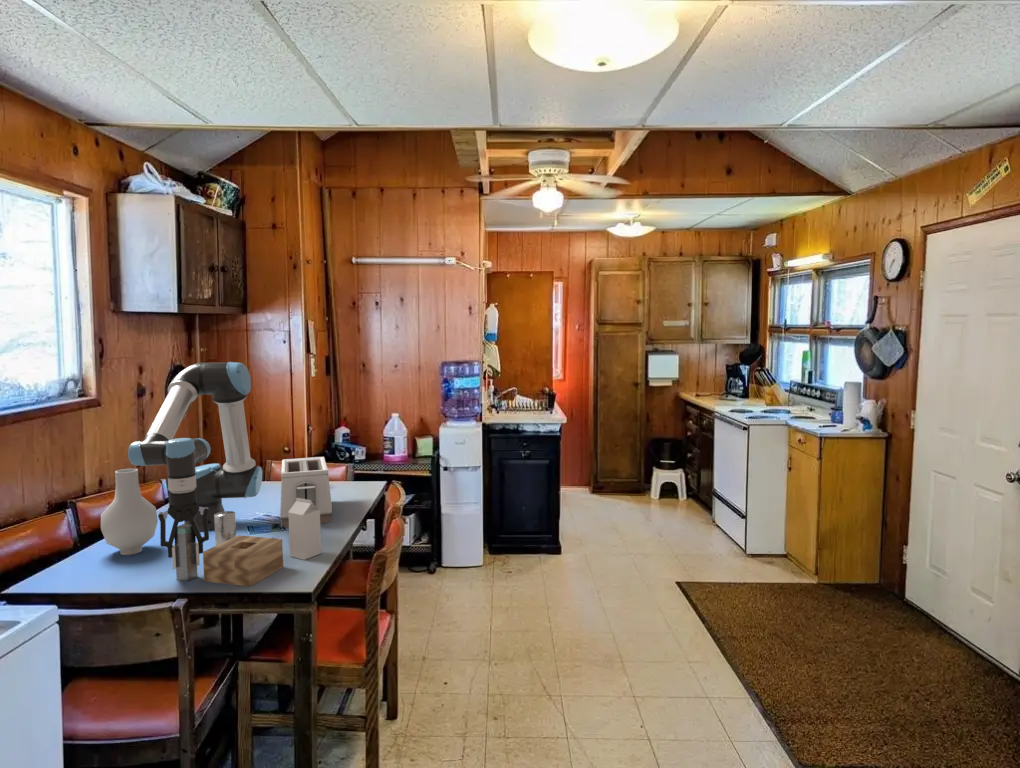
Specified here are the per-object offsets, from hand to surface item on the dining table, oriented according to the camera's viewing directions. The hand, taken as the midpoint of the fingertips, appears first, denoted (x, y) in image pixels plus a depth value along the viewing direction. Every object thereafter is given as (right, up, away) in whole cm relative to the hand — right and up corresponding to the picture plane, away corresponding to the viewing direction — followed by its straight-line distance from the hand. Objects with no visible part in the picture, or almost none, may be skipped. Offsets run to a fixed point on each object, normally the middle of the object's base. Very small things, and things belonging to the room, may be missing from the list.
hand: (186, 565), depth 193 cm
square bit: (0, -4, 0) cm, 4 cm away
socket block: (+16, -3, +3) cm, 17 cm away
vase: (-31, -2, +24) cm, 39 cm away
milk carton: (+30, -2, +19) cm, 36 cm away
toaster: (+15, +1, +66) cm, 68 cm away
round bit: (+3, -2, +20) cm, 20 cm away
